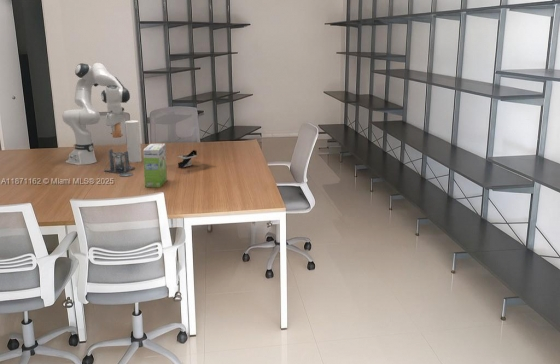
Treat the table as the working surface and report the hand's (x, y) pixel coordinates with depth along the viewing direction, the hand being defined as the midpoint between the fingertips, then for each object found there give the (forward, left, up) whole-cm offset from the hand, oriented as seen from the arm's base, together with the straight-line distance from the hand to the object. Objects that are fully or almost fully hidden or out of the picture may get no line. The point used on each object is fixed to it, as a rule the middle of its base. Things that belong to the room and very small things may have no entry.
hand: (116, 130), depth 359 cm
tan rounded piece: (0, 0, -5) cm, 5 cm away
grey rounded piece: (+12, -8, -28) cm, 32 cm away
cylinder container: (-8, +26, -29) cm, 39 cm away
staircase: (+38, +26, -29) cm, 55 cm away
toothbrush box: (+43, -16, -29) cm, 54 cm away
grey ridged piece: (0, 0, -28) cm, 28 cm away
